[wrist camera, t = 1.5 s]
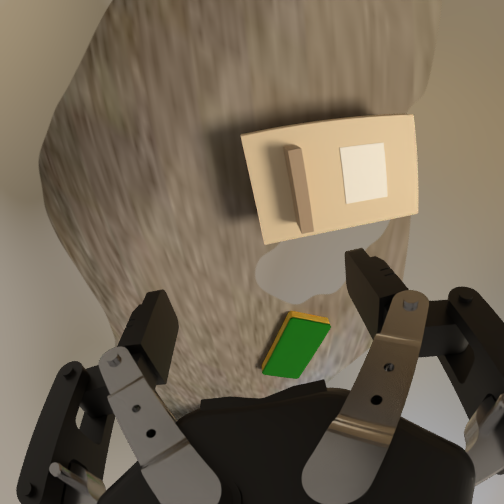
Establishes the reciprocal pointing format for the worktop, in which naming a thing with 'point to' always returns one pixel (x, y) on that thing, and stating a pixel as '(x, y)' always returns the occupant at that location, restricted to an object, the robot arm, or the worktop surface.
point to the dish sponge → (295, 344)
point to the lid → (332, 174)
